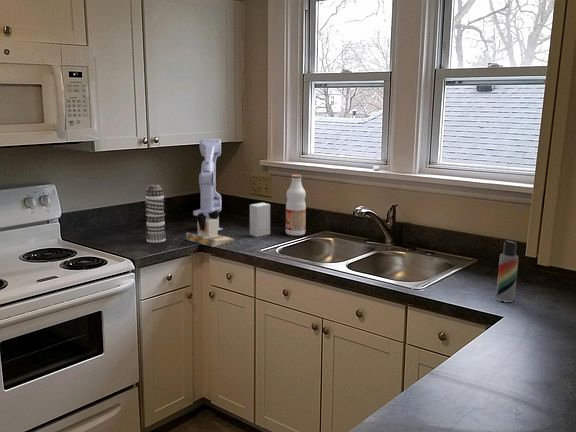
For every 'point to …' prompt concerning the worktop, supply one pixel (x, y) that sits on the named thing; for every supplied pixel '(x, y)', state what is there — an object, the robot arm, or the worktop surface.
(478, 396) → the worktop surface
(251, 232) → the skincare box
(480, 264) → the worktop surface
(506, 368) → the worktop surface
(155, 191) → the grey striped cylinder
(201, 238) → the tan flat slab
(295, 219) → the fruit juice
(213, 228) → the carton
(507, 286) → the lotion bottle
